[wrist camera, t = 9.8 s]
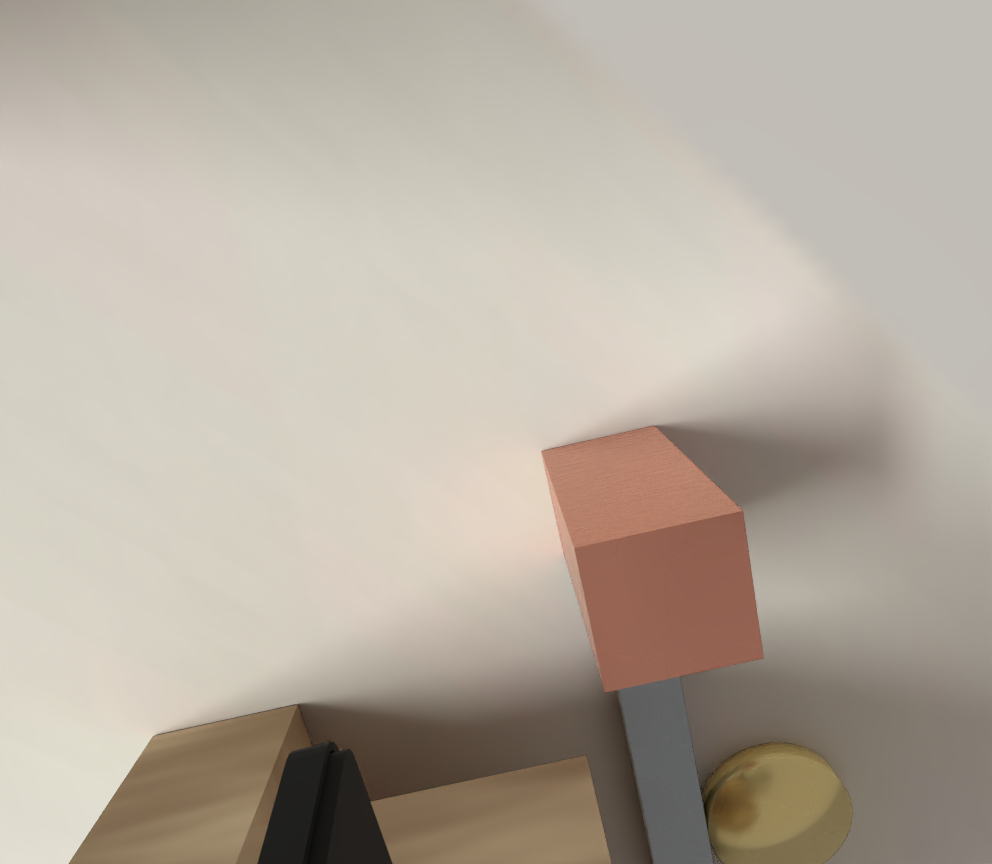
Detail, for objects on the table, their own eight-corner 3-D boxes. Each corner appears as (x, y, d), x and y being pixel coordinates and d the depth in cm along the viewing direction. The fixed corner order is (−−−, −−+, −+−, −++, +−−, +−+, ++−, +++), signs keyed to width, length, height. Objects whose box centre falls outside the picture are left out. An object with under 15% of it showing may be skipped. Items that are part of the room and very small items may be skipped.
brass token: (686, 754, 24) (697, 780, 23) (825, 722, 24) (843, 746, 23) (709, 865, 25) (720, 894, 24) (841, 835, 25) (859, 863, 24)
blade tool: (541, 451, 21) (574, 548, 14) (654, 425, 21) (743, 510, 14) (654, 967, 26) (717, 1218, 19) (743, 949, 26) (839, 1194, 19)
